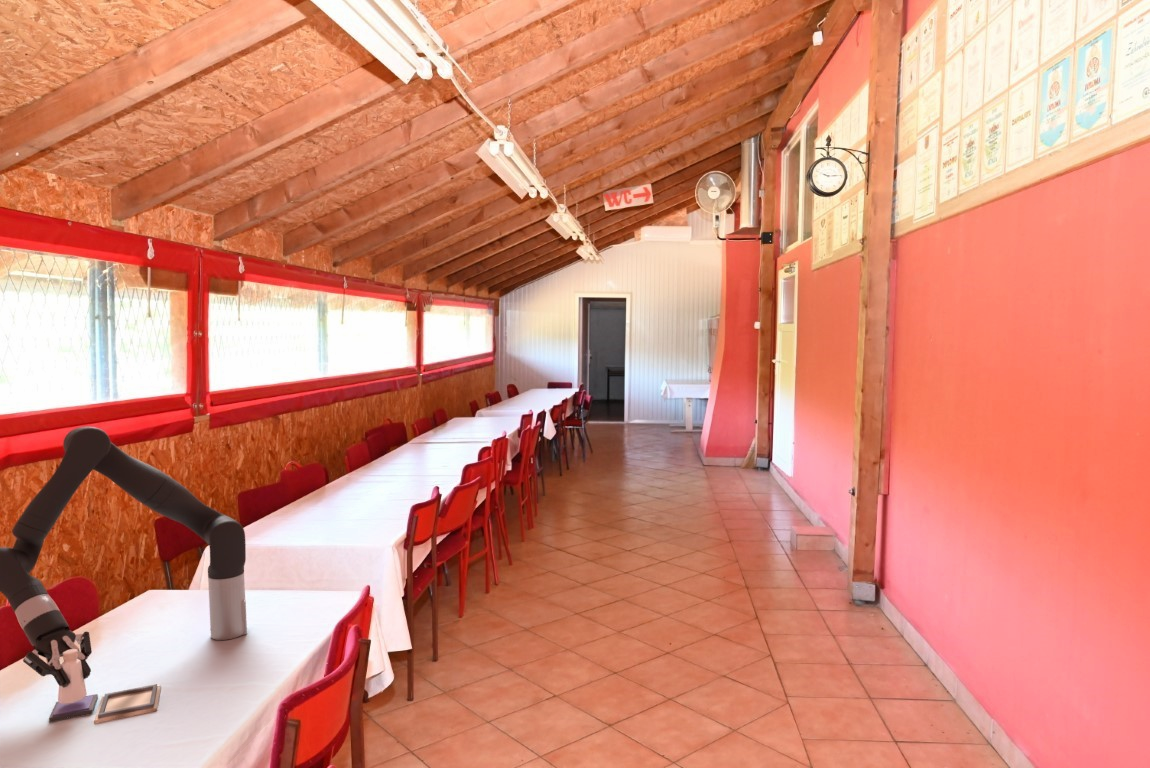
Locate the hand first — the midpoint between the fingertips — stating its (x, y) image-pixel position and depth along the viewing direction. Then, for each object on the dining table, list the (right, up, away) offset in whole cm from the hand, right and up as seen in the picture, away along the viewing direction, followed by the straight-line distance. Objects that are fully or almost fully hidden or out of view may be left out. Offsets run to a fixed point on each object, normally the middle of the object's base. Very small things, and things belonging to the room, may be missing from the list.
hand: (77, 680), depth 165 cm
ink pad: (-1, -7, +1) cm, 8 cm away
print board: (+10, -7, +3) cm, 12 cm away
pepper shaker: (-2, -5, +1) cm, 5 cm away
